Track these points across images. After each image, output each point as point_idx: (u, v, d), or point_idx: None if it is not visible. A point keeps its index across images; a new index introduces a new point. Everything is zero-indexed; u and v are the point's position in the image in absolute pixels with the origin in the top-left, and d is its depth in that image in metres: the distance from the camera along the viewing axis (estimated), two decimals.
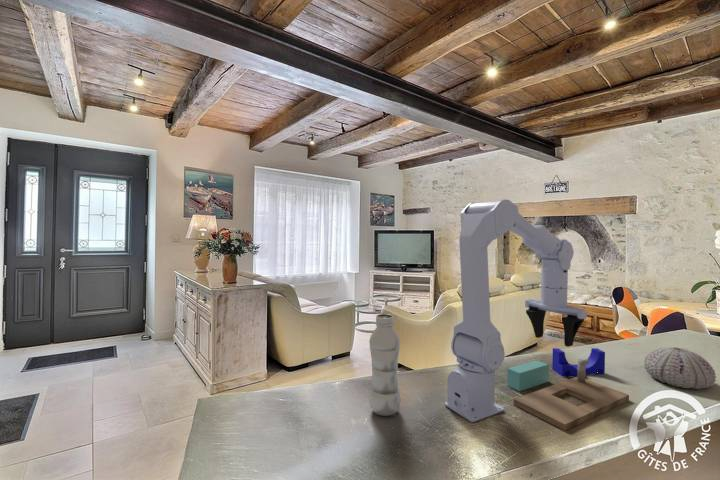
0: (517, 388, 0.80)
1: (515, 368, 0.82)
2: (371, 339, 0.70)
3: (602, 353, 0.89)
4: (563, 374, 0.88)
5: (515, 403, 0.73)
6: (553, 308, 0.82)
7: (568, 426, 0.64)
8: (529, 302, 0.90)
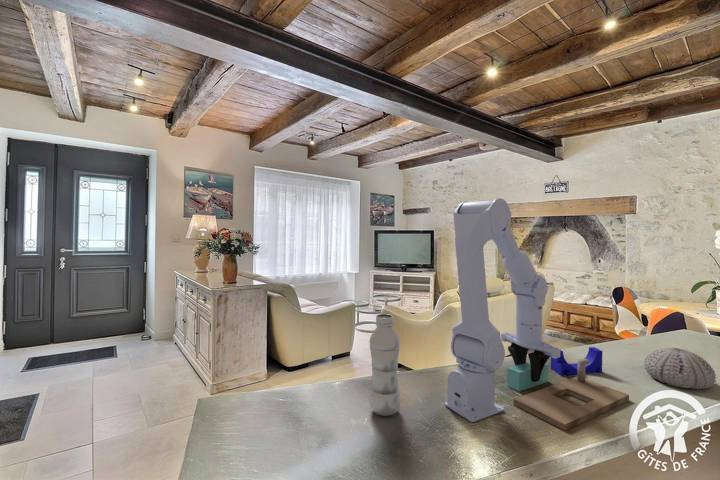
0: (517, 388, 0.80)
1: (515, 368, 0.82)
2: (371, 339, 0.70)
3: (599, 352, 0.90)
4: (561, 373, 0.88)
5: (515, 403, 0.73)
6: (527, 345, 0.81)
7: (568, 426, 0.64)
8: (505, 336, 0.88)
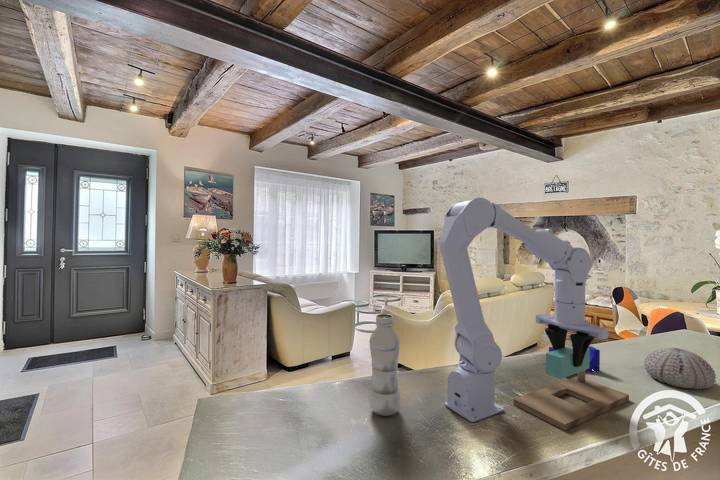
0: (558, 375, 0.71)
1: (554, 353, 0.73)
2: (371, 339, 0.70)
3: (597, 351, 0.91)
4: None
5: (515, 403, 0.73)
6: (569, 326, 0.72)
7: (568, 426, 0.64)
8: (540, 318, 0.79)
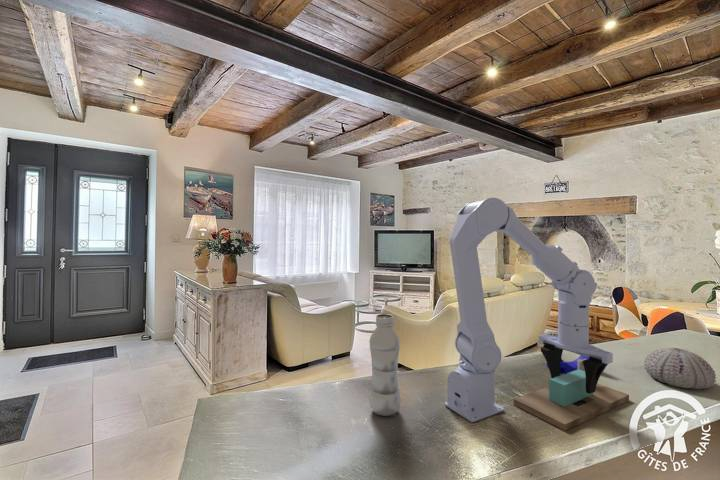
0: (561, 402, 0.71)
1: (558, 379, 0.73)
2: (371, 339, 0.70)
3: None
4: None
5: (515, 403, 0.73)
6: (573, 349, 0.71)
7: (568, 426, 0.64)
8: (544, 338, 0.79)
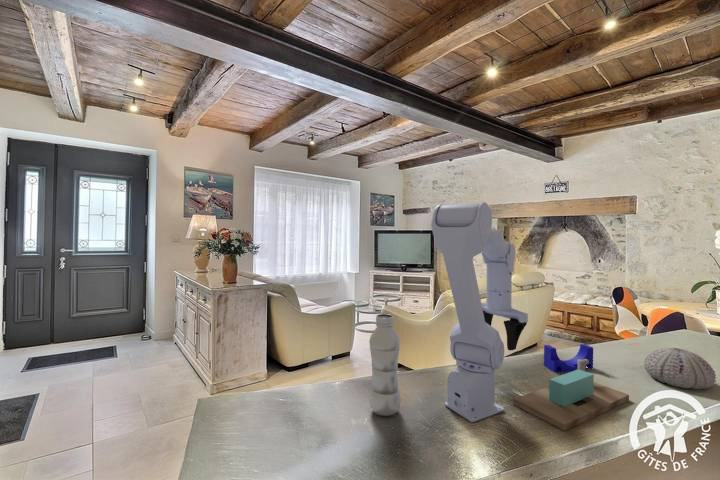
0: (561, 402, 0.71)
1: (558, 379, 0.73)
2: (371, 339, 0.70)
3: (591, 349, 0.92)
4: (555, 370, 0.90)
5: (515, 403, 0.73)
6: (496, 311, 0.81)
7: (568, 426, 0.64)
8: None
